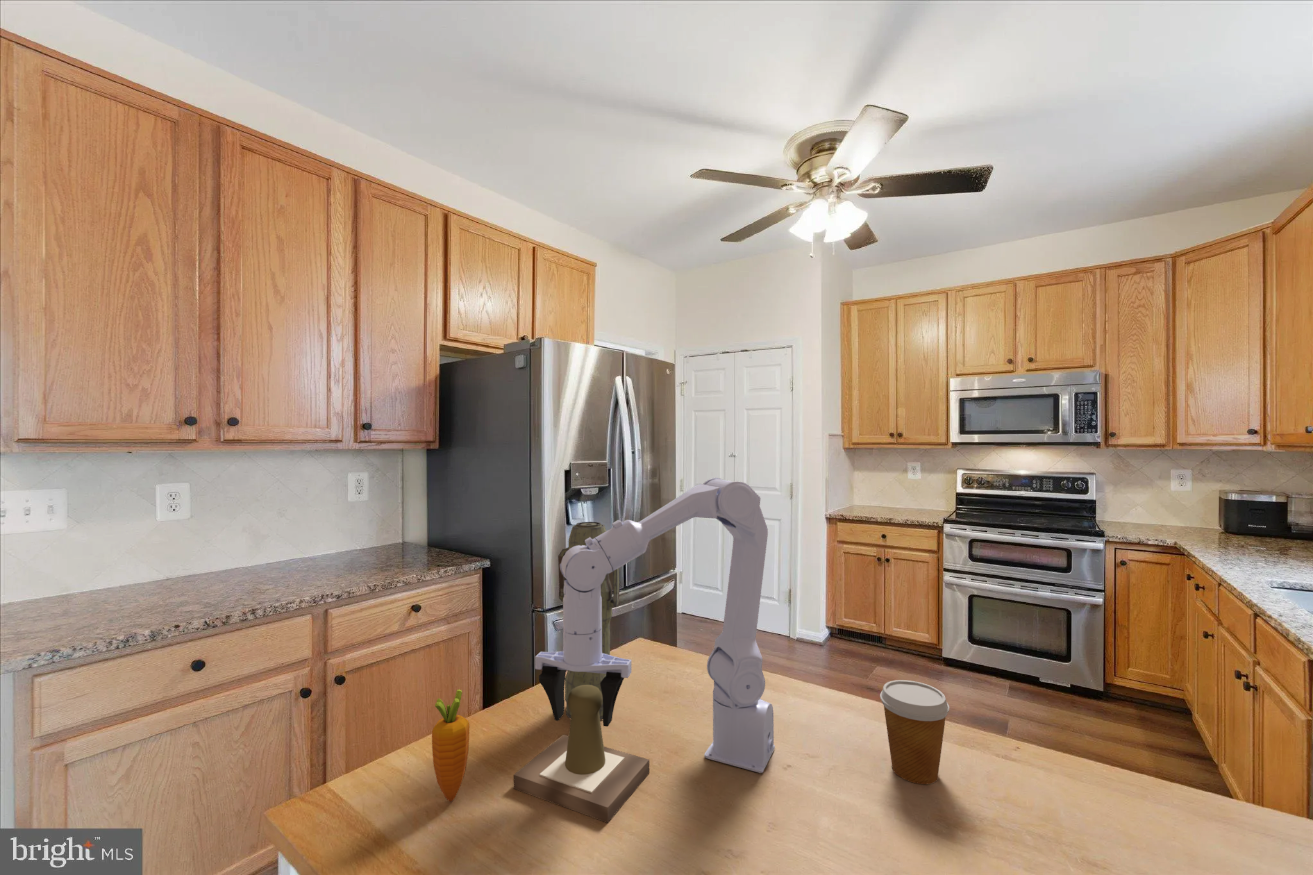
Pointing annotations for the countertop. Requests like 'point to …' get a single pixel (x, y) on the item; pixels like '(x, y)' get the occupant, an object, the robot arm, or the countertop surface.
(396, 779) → the countertop surface
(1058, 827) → the countertop surface
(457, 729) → the carrot
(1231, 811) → the countertop surface
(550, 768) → the walnut plinth
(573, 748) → the olive pawn piece
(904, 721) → the disposable coffee cup
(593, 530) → the thermos
